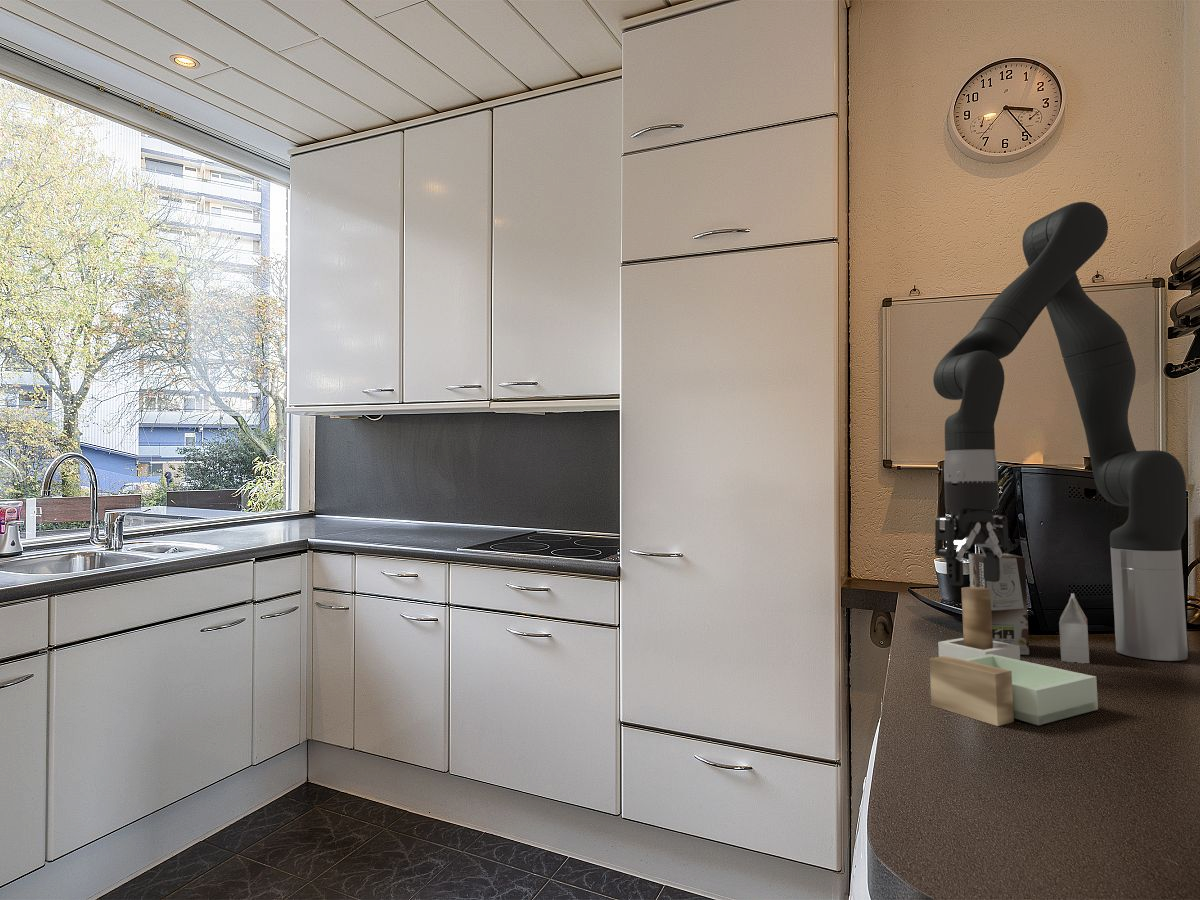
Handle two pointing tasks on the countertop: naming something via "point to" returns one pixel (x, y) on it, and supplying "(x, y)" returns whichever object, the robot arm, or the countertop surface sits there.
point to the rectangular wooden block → (972, 689)
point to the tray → (1045, 690)
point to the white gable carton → (1074, 633)
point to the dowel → (977, 617)
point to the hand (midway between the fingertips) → (973, 583)
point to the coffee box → (1005, 598)
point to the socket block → (962, 652)
